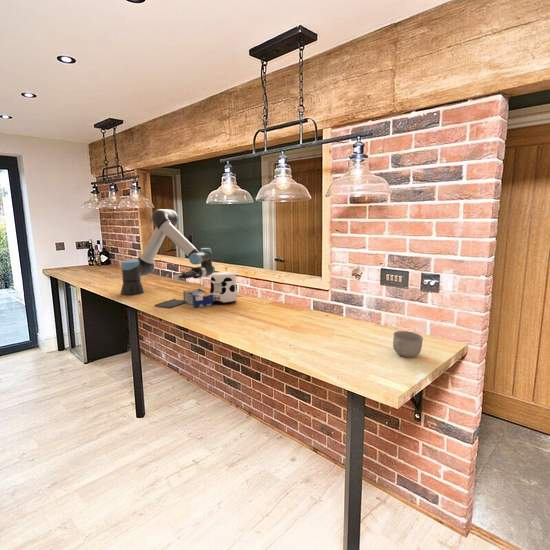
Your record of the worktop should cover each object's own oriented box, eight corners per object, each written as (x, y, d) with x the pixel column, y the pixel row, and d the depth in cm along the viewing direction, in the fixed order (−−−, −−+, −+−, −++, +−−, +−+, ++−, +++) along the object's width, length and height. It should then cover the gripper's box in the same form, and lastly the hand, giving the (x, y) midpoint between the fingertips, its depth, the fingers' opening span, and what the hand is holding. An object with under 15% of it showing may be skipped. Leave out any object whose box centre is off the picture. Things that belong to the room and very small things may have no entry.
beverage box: (183, 290, 232) (195, 296, 213) (199, 288, 238) (212, 294, 219) (183, 301, 233) (195, 308, 215) (200, 298, 239) (212, 305, 220)
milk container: (233, 298, 240) (233, 271, 237) (240, 304, 224) (239, 275, 221) (207, 300, 234) (206, 272, 231) (212, 306, 218) (211, 276, 215)
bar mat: (154, 306, 219) (154, 304, 219) (174, 300, 235) (174, 298, 235) (170, 308, 214) (170, 306, 214) (189, 301, 230) (189, 300, 230)
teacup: (405, 347, 149) (407, 329, 148) (428, 356, 140) (429, 336, 138) (380, 354, 143) (381, 334, 141) (402, 363, 133) (403, 342, 132)
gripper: (206, 278, 244) (183, 284, 223) (190, 277, 249) (166, 282, 228) (205, 267, 242) (182, 272, 221) (190, 266, 248) (166, 271, 227)
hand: (174, 277), depth 225 cm, fingers closed
